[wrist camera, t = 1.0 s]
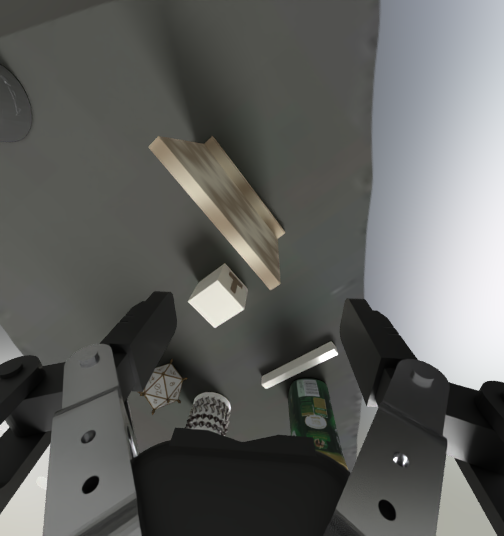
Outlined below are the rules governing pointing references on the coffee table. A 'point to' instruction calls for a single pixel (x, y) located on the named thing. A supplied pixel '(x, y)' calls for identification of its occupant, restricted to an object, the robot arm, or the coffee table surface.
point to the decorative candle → (210, 413)
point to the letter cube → (219, 296)
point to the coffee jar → (314, 416)
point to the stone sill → (299, 365)
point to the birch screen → (225, 201)
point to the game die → (163, 386)
